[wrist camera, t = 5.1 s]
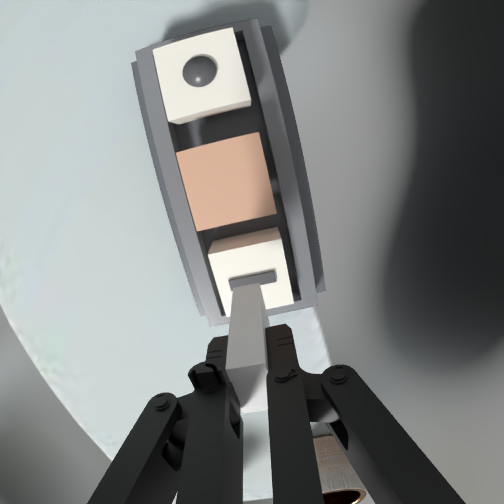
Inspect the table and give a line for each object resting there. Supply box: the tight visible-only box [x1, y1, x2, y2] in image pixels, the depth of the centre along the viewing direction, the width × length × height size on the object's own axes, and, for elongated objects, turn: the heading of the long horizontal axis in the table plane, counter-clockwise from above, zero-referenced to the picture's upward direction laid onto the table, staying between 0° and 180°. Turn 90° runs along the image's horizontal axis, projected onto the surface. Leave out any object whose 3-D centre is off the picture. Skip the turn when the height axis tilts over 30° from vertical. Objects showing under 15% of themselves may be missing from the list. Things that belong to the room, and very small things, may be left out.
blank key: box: [176, 132, 277, 231], centre depth 19 cm, size 5×5×3 cm
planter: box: [313, 436, 367, 504], centre depth 33 cm, size 11×11×10 cm
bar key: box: [208, 227, 294, 317], centre depth 22 cm, size 5×5×3 cm
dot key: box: [153, 27, 251, 124], centre depth 17 cm, size 5×5×3 cm
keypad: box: [131, 18, 326, 327], centre depth 22 cm, size 22×11×4 cm, turn 13°
